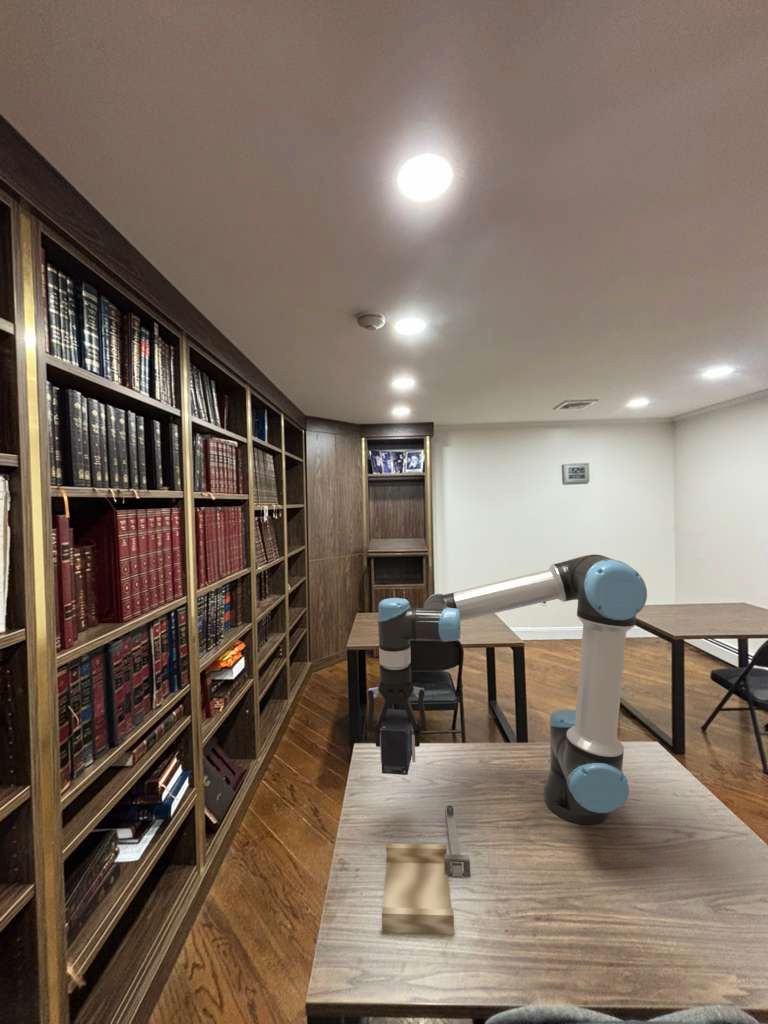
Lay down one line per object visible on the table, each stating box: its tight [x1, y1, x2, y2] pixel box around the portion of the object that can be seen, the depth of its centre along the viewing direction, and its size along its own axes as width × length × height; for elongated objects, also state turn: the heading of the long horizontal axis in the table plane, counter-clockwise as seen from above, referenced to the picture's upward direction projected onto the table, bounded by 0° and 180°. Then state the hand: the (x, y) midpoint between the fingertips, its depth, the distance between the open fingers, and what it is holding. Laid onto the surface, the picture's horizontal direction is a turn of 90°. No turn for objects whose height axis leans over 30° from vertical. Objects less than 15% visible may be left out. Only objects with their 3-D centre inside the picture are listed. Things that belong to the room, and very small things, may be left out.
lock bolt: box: [444, 804, 464, 878], centre depth 100 cm, size 2×18×3 cm, turn 177°
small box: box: [380, 708, 413, 776], centre depth 105 cm, size 11×6×10 cm, turn 170°
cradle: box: [381, 843, 471, 935], centre depth 88 cm, size 18×16×4 cm
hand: (398, 758), depth 105 cm, fingers closed on small box, 7 cm apart
